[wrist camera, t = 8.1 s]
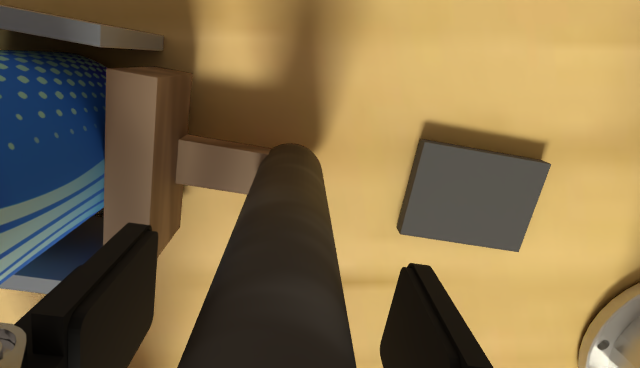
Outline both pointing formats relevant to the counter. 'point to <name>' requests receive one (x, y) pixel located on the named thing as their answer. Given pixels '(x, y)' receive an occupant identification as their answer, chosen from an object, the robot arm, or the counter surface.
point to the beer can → (48, 150)
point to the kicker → (248, 234)
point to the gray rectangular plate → (471, 195)
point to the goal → (89, 234)
